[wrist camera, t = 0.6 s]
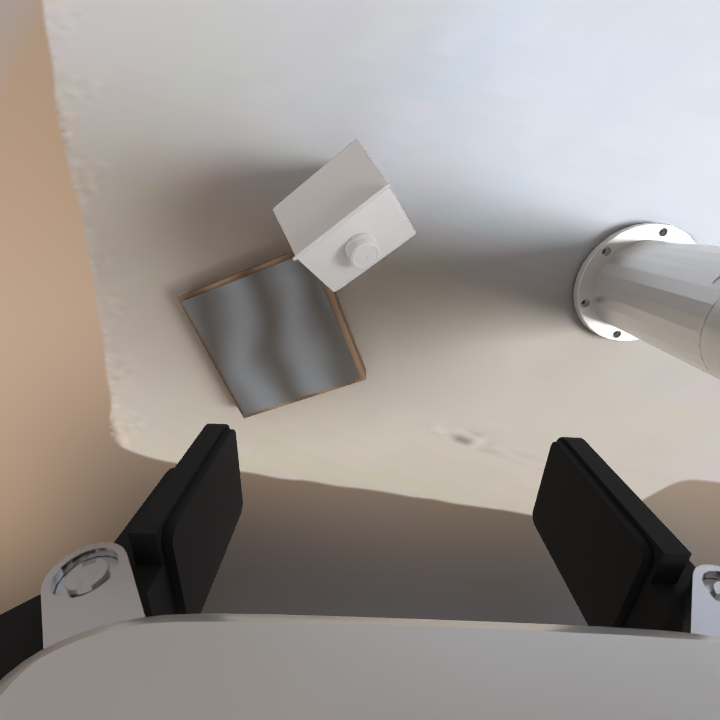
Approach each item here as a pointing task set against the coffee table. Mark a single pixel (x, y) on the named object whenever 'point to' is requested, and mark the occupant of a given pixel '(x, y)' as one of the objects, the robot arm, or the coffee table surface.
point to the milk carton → (343, 218)
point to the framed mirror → (274, 335)
